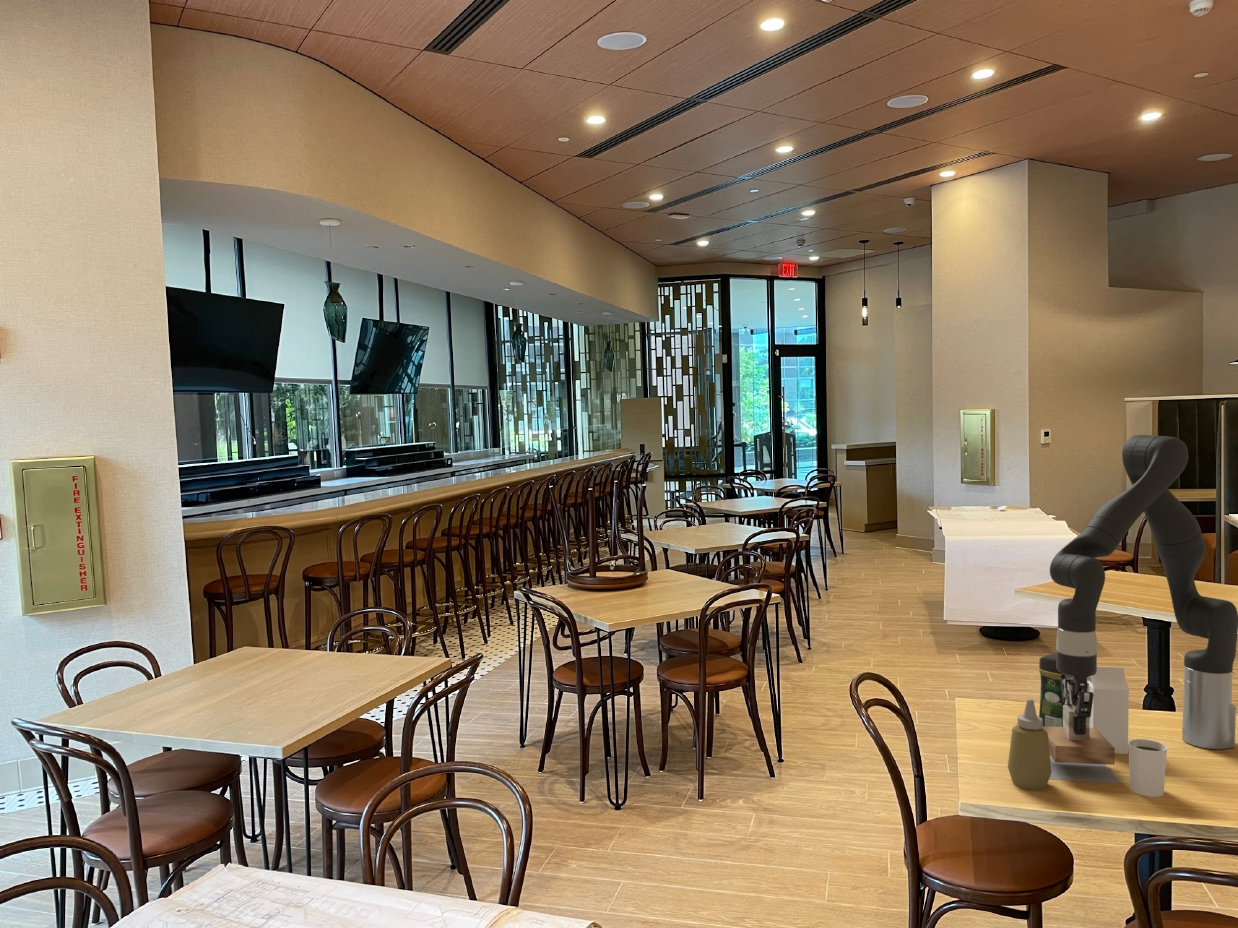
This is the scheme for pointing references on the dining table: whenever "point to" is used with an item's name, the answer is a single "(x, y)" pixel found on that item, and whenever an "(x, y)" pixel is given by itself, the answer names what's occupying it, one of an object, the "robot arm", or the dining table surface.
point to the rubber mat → (1082, 772)
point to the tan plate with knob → (1078, 743)
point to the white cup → (1147, 767)
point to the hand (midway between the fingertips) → (1076, 729)
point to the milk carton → (1110, 706)
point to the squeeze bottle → (1029, 751)
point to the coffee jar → (1050, 692)
